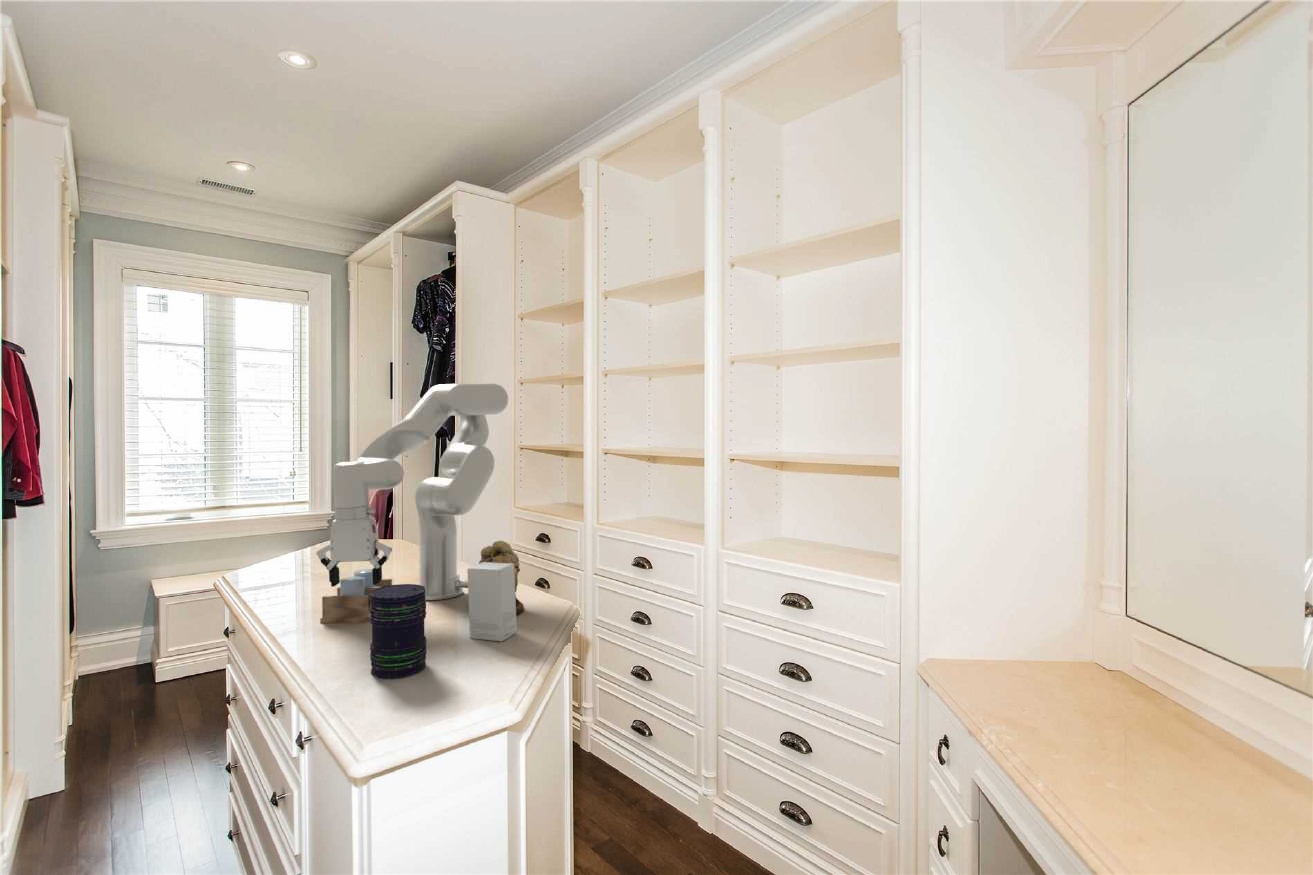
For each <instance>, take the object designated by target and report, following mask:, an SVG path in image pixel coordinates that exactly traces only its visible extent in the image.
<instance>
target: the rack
mask: <svg viewBox="0 0 1313 875" xmlns="http://www.w3.org/2000/svg"><path fill="white" fill-rule="evenodd" d="M390 585H393V578H382V580H381V581H380V582H379V583H378V584H377V587H365V595H357V596H341V586H339V587H337V588H336V592H337V593H336V595H323V596H322V597H321V598H322V599H321V602H322V604H321V606H322V607H321V608H322V610H321V611H322V612H321V613H322V614H321V615H322V616H321V617H320V620H319V623H320V624H324V623H325V624H327V623H328V624H330V622H331V624H335V623H336V622H339V623H342V624H343V622H345V623H370V606H371V605H370V601H371V598H370V593H371V591H373V590H375V589H377V588H381V587H385V586H390ZM339 623H338V624H339ZM336 624H337V623H336Z"/></svg>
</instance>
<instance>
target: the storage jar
mask: <svg viewBox="0 0 1313 875" xmlns="http://www.w3.org/2000/svg"><path fill="white" fill-rule="evenodd" d="M370 598H371V601H370V605H371V606H370V622H369V623H370V624H371V640H372V641H371V643H370V644H369V646H370V647H369V649H370V655H369V660H370V666H371V669H370V675H371V676H372V677H374V678H376V679H378V680H397V679H398V680H399V679H405V678H409V677H413V676H416V675H418V674H421V673H422V672H424V671H425V669H426V668H425V667H427V661H426V658H427V656H426V655H427V642H428V640H427V637H426V636H425V620H426V617H427V609H426V608H427V600H425V587H424V586H421V585H420V584H415V583H413V584H412V583H404V584H403V583H399V584H392V585H390V586H385V587H381V588H377V589H375V590H373V591H371V593H370Z"/></svg>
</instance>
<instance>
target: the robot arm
mask: <svg viewBox="0 0 1313 875" xmlns="http://www.w3.org/2000/svg"><path fill="white" fill-rule="evenodd" d="M508 403H509V394H508V393H507V390H506V389H505V387H503V386H502V385H500V384H497V383H445V384H443V383H442V384H441V383H440V384H436V385H434V386H432V387H430V388H429V389H428V390H427V391H426V392H425V394H424V395H423V396H422V397H421V398H420V399H419V400H418V402H416V404H415V405H414V406H413V407H412V409H410V411H409V412H408V413H407V414H406V415H405V417H404V418H403V419H402V420H401V421H400V422H399V423H397V424H395V425H393V426H391V428H389V429H388V430H387V431H385V432H384V433H383V434H381V435H379V436H377V437H376V438H375V439H374V440H372V442H370V443H369V445H367V446H366V448H365V449H364V450H363V451H362V452H361V454H360V455H358V457H357V458H356V460H355V461H341V462H337V463H336V464H334V465H333V467H332V480H333V499H334V500H333V501H334V520H332V523H331V529H330V541H329V544H328V545H327V546H325V547H323V548H321V549H319V550H317V551H316V552H315V553H316V556H317V557H318V559H319V560H320V563H321V564H322V565H323V566H324V567H326V568H325V569H326V570H327V571H328V575H329V576H328V577H329V578H328V580H329V582H330V587H335V586H337V585H340V580H341V578H340V567H339V566H338V565H339V563H350V562H351V563H352V562H355V563H356V562H369V563H370V564H371V565H372V566H373V568H371V569H372V576H373V584H374V585H377V584H378V583H379V582H380V581H381V580H382V579H383V568H382V567H383V565H384V564H385V563H386V562H387V561H388V560H389V558H390V556H391V553H392V551H393V547H391V546H389V545H386V544H384V543H382V542H380V540H379V533H378V529H377V525H376V524H377V523H376V520H375V517H373V516H372V514H373V515H374V514H376V512H377V511H376V508H375V507H371V504H370V490H390V489H394V488H396V487H397V486H398V485H400V484H401V482H402V481H403V480H404V477H405V470H404V467H403V466H402V464H401V463H399V462H398V461H397V460H395V459H396V458H397V457H399V456H401V455H402V454H404V453H407V452H408V451H409V452H410V451H412V450H414V449H417V448H419V447H422V446H424V445H425V444H428V443H429V442H430V441H431V440H432V438H433V437H434V436H435V435H436V433H437V432H438V431H439V430H440V428H441V427H442V426H443V425H444V423H446V421H447V420H448V419H449V418H450V417H451V416H459V425H458V426H459V427H458V428H457V430H456V431H455V434H454V436H453V438H452V439H451V441H450V442H449V444H448V445H447V447H446V449H445V451H444V452H443V454H442V455H441V457H440V461H439V468H440V471H441V472H442V474H443V475H444V476H446V477H443V476H433V477H432V476H431V477H428V478H425V479H423V480H422V481H421V482H420V483H418V485H417V488H416V489H415V493H414V496H415V497H414V500H415V506H416V510H417V511H416V512H417V518H418V529H419V530H418V531H419V532H418V538H419V540H418V543H419V544H418V546H419V547H418V548H419V549H418V552H419V554H418V556H419V558H418V559H419V560H418V561H419V569H418V570H419V585H421V586H424V587H425V601H437V600H438V601H439V600H446V599H451V598H456V597H458V596H460V595H462V594H463V591H464V589H468V579H462V578H460V577H461V576H460V574H458V573H457V571H458V570H457V568H458V566H457V564H458V563H457V561H458V560H457V559H458V558H457V557H458V555H457V553H458V552H457V547H458V546H457V544H458V543H457V542H458V541H457V539H458V538H457V535H458V534H457V532H458V531H457V523H456V519H455V516H464V515H465V514H467V513H469V512H470V511H472V509H473V508H474V506H475V505H476V504H477V502H478V501H479V499H480V496H482V495H481V494H482V493H483V491H484V489H485V487H486V486H487V484H488V482H489V481H490V479H491V477H492V475H493V472H494V468H495V458H494V454H493V453H492V451H491V450H490V449H489V448H488V447H486V446H485V445H486V443H487V441H488V438H489V434H490V432H489V424H488V421H487V417H486V415H497V414H500V413H502V412H504V410H505V409H506V408H507V407H508ZM380 551H381V552H383V554H382V556H381V558H380V557H379V555H380ZM327 552H330V553H329V555H330V558H329V557H328V556H327V554H326V553H327Z"/></svg>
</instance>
